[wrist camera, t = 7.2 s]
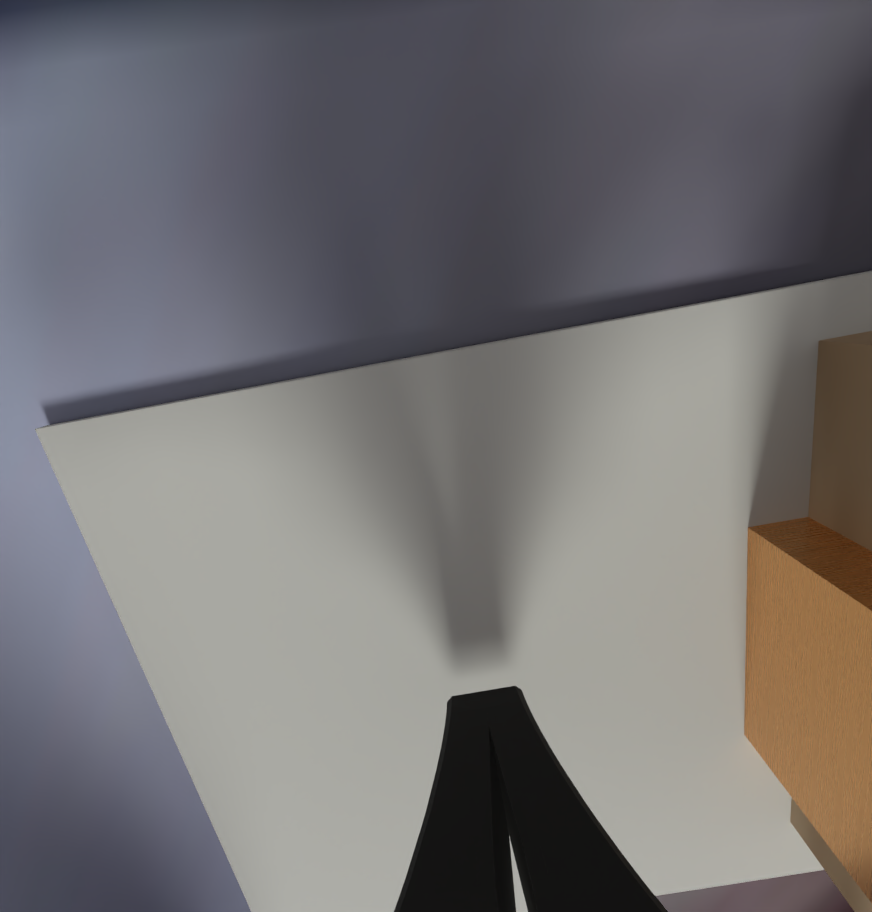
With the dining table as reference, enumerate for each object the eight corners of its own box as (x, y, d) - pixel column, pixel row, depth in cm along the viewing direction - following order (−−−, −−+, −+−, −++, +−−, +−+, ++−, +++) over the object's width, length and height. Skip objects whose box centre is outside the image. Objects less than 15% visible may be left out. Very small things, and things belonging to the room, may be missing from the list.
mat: (274, 941, 13) (271, 955, 13) (47, 425, 9) (35, 429, 9) (965, 833, 13) (978, 845, 12) (1096, 228, 8) (1121, 225, 8)
